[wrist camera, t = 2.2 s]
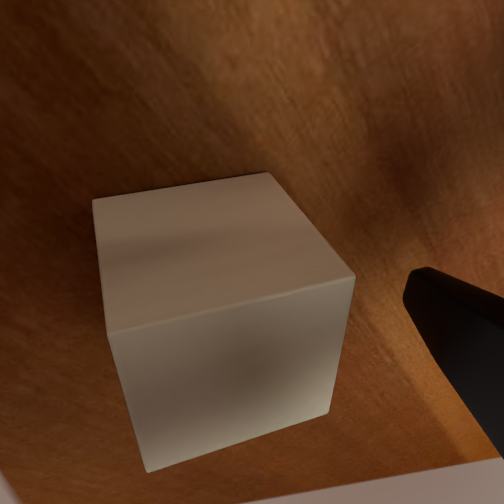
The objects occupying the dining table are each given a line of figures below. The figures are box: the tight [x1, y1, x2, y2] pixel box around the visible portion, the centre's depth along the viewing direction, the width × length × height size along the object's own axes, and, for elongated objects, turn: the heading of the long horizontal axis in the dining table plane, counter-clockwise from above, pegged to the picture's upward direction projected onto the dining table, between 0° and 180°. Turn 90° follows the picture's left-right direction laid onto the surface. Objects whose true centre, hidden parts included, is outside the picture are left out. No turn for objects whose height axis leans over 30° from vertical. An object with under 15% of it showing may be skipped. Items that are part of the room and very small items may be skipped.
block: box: [92, 172, 356, 473], centre depth 9 cm, size 4×4×4 cm
